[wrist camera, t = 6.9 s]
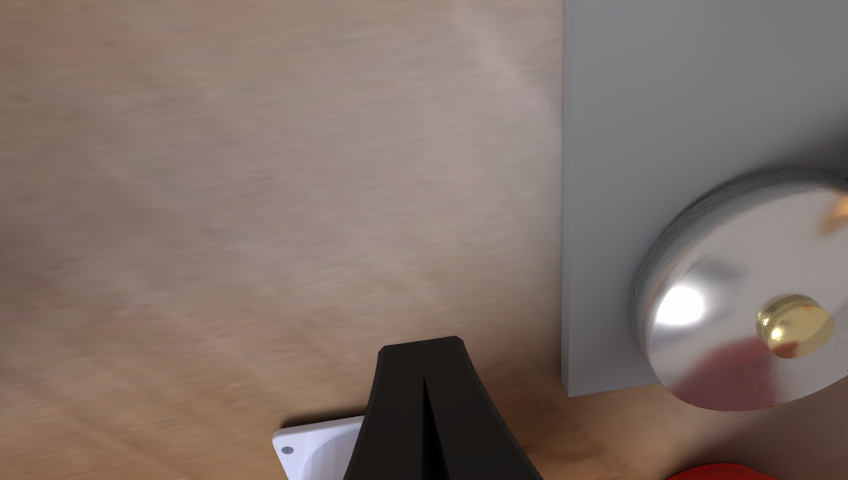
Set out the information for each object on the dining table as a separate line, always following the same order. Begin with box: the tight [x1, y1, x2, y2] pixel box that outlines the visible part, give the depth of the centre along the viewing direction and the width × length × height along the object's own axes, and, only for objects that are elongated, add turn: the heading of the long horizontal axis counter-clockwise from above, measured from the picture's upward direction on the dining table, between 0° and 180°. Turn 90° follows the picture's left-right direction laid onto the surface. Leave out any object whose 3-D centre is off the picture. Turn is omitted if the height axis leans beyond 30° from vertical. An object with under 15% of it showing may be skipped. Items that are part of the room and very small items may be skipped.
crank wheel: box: [627, 168, 848, 411], centre depth 17 cm, size 13×9×5 cm
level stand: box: [561, 0, 848, 397], centre depth 18 cm, size 16×15×2 cm
